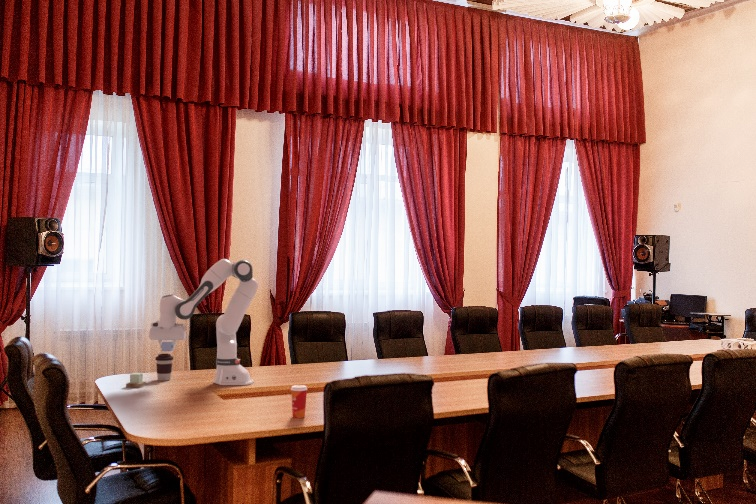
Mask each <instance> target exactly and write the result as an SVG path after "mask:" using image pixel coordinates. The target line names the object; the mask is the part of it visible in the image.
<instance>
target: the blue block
mask: <svg viewBox="0 0 756 504" xmlns="http://www.w3.org/2000/svg"><path fill="white" fill-rule="evenodd" d="M161 342H162V348H161V352H172V351H174V349H175V348H171V347H172V346H171V345H173V344H174V342H173V340H163V341H161Z"/></svg>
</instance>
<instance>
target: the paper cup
mask: <svg viewBox="0 0 756 504" xmlns="http://www.w3.org/2000/svg"><path fill="white" fill-rule="evenodd" d="M290 391H291V411H292V413H291V415H292V418H294V419H303V418H305V416H306V405H307V393H308V392H307V391H308V387H307V386H306V385H304V384H303V385H301V384H296V385H295V384H294V385H292V386H291V388H290Z"/></svg>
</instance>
